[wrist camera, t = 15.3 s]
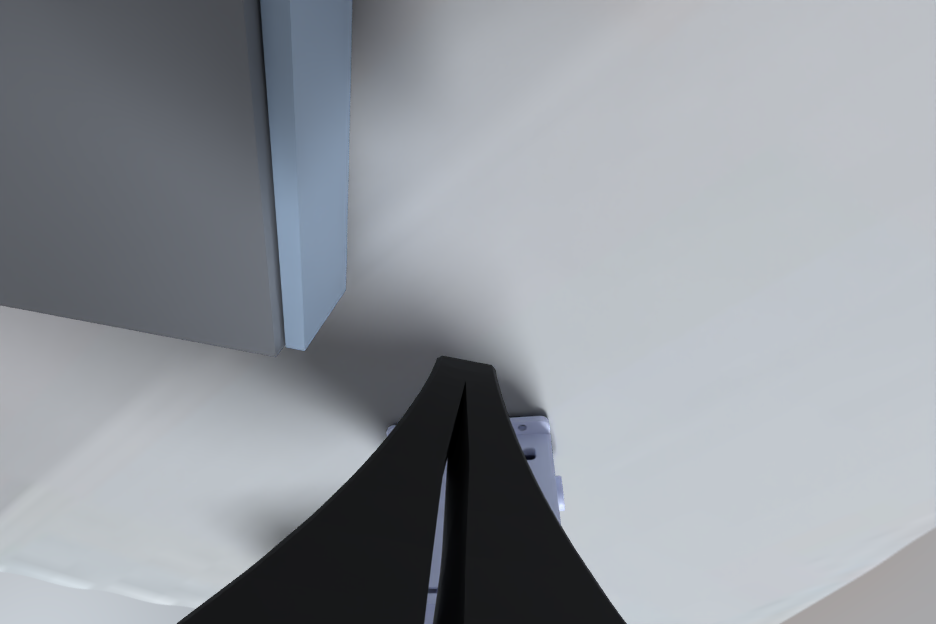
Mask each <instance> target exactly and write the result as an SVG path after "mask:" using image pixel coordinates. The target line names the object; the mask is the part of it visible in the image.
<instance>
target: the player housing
mask: <svg viewBox="0 0 936 624" xmlns="http://www.w3.org/2000/svg"><path fill="white" fill-rule="evenodd" d="M0 305H2V306H7V307H12V308H18V309H23V310H28V311H34V312H39V313H44V314H50V315H55V316H60V317H66V318H71V319H76V320H82V321H87V322H92V323H97V324H103V325H108V326H113V327H119V328H124V329H129V330H135V331H140V332H145V333H151V334H156V335H161V336H166V337H172V338H177V339H182V340H188V341H193V342H198V343H204V344H209V345H214V346H220V347H225V348H230V349H235V350H241V351H246V352H251V353H257V354H262V355H267V356H273V357H276V356H277V355H278V354H279V352H280V351H281V350H282V348H283V347H284V346H285V344H286V343H285V329H284V316H283V302H282V289H281V275H280V262H279V248H278V235H277V221H276V208H275V195H274V181H273V168H272V154H271V141H270V127H269V114H268V100H267V87H266V73H265V60H264V46H263V33H262V19H261V6H260V0H0Z"/></svg>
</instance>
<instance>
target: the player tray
mask: <svg viewBox="0 0 936 624" xmlns="http://www.w3.org/2000/svg"><path fill="white" fill-rule="evenodd" d="M260 6H261V19H262V33H263V46H264V60H265V73H266V87H267V100H268V114H269V127H270V141H271V154H272V168H273V181H274V195H275V208H276V221H277V235H278V248H279V262H280V275H281V289H282V302H283V316H284V329H285V343H286V347H287V348H292V349H297V350H303V351H305V350H306V348H307V347H308V346H309V344H310V343H311V341H312V340H313V338H314V337H315V335H316V334H317V332H318V331H319V329H320V328H321V326H322V325H323V323H324V322H325V320H326V319H327V317H328V316H329V314H330V313H331V311H332V310H333V308H334V307H335V305H336V304H337V302H338V301H339V299H340V298H341V296H342V295H343V294H344V292H345V291H346V263H347V219H348V175H349V131H350V87H351V43H352V0H260Z"/></svg>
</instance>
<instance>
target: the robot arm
mask: <svg viewBox="0 0 936 624" xmlns="http://www.w3.org/2000/svg"><path fill="white" fill-rule="evenodd" d="M520 425H525V426H520ZM386 436H387V438H386V439H385V440H384V441H383V443H382V444H381V445H380V446H379V447H378V448H377V450H376V451H375V452H374V453H373V454H372V455H371V456H370V458H369V459H368V460H367V461H366V462H365V463H364V464H363V465H362V466H361V467H360V468H359V469H358V470H357V472H356V473H355V474H354V475H353V476H352V477H351V478H350V479H349V480H348V481H347V482H346V483H345V484H344V485H343V486H342V487H341V488H340V489H339V490H338V491H337V492H336V493H335V494H334V495H333V496H332V497H331V498H330V499H329V500H328V501H327V502H325V503H324V504H323V505H322V506H321V507H320V508H319V509H318V510H317V511H316V512H315V513H314V514H313V515H312V516H310V517H309V518H308V519H307V520H306V521H305V522H304V523H303V524H301V525H300V526H299V527H298V528H297V529H295V530H294V531H293V532H292V533H291V534H290V535H288V536H287V537H286V538H285V539H284V540H283V541H281V542H280V543H279V544H278V545H277V546H275V547H274V548H273V549H272V550H271V551H270V552H268V553H267V554H266V555H265V556H264V557H263V558H261V559H260V560H259V561H258V562H256V563H255V564H254V565H253V566H251V567H250V568H249V569H248V570H246V571H245V572H244V573H243V574H241V575H240V576H239V577H237V578H236V579H235V580H233V581H232V582H231V583H229V584H228V585H227V586H225V587H224V588H223V589H221V590H220V591H219V592H218V593H216V594H215V595H214V596H212V597H211V598H210V599H208V600H207V601H206V602H204V603H203V604H202V605H200V606H199V607H198V608H196V609H195V610H194V611H192V612H191V613H190V614H188V615H187V616H186V617H185V618H183V619H182V620H181V621H179V622H178V623H177V624H626V622H625V621H624V620H623V618H622V617H621V616H620V614H619V613H618V611H617V610H616V609H615V607H614V606H613V605H612V603H611V602H610V601H609V599H608V598H607V596H606V595H605V593H604V592H603V590H602V589H601V587H600V586H599V584H598V583H597V581H596V580H595V578H594V577H593V575H592V574H591V572H590V571H589V569H588V568H587V566H586V565H585V563H584V562H583V560H582V559H581V557H580V556H579V554H578V553H577V551H576V550H575V548H574V546H573V545H572V543H571V542H570V540H569V538H568V537H567V535H566V533H565V531H564V530H563V528H562V526H561V521H560V513H559V511H564V510H565V504H564V494H563V486H562V479H561V476H555V469H554V461H553V452H552V443H551V435H550V425H549V420H548V419H547V418H546V417H544V416H529V417H513V418H509V415H508V413H507V410H506V407H505V404H504V401H503V398H502V394H501V391H500V387H499V384H498V380H497V376H496V370H495V369H494V367H493V366H492V365H488V364H483V363H477V362H472V361H467V360H462V359H457V358H451V357H446V356H441V357H439V358H437V360H436V363H435V366H434V368H433V370H432V372H431V374H430V376H429V378H428V380H427V381H426V383H425V385H424V386H423V388H422V390H421V391H420V393H419V394H418V396H417V397H416V399H415V400H414V402H413V403H412V405H411V406H410V407H409V409H408V410H407V412H406V413H405V415H404V416H403V417H402V419H401V420H400V421H399V423H398V424H397V425H392V426H390V427H388V429H387V432H386Z"/></svg>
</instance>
